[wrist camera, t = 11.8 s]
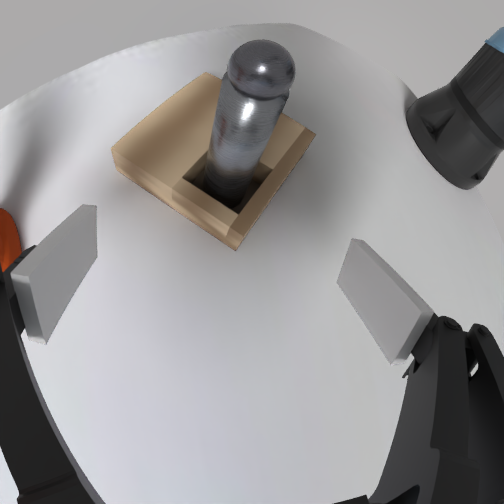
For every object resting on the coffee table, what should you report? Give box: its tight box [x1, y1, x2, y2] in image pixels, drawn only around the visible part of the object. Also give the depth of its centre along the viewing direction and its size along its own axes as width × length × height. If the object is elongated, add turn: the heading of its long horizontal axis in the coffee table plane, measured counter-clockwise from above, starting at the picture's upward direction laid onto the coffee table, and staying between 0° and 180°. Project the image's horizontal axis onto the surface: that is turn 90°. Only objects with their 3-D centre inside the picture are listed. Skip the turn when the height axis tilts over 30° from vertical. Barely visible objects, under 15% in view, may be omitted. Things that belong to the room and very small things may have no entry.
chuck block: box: [111, 72, 316, 251], centre depth 23 cm, size 12×12×3 cm
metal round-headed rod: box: [202, 40, 295, 209], centre depth 17 cm, size 3×3×14 cm
